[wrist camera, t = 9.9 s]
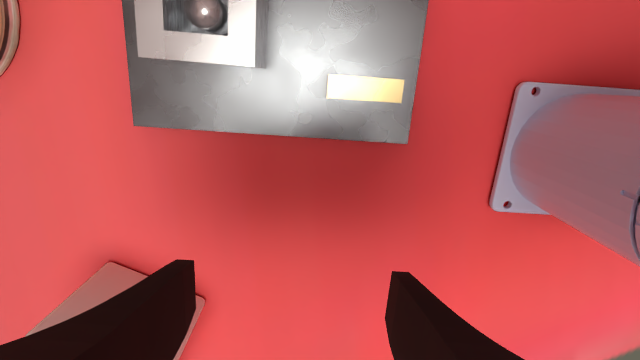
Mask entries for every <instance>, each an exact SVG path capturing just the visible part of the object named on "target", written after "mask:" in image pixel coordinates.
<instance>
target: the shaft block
mask: <svg viewBox="0 0 640 360" xmlns="http://www.w3.org/2000/svg"><path fill="white" fill-rule="evenodd" d="M428 1H429V0H268V16H267V46H266V69H263V68H252V67H240V66H228V65H217V64H205V63H194V62H182V61H171V60H162V59H153V58H144V57H138V48H137V34H136V21H135V7H134V0H122V7H123V18H124V28H125V39H126V50H127V60H128V71H129V81H130V92H131V102H132V113H133V124H134V126H144V127H159V128H174V129H189V130H204V131H219V132H234V133H249V134H264V135H279V136H294V137H309V138H324V139H339V140H354V141H369V142H384V143H399V144H407V143H408V137H409V130H410V123H411V116H412V109H413V103H414V96H415V89H416V82H417V76H418V69H419V62H420V55H421V49H422V42H423V35H424V28H425V21H426V15H427V8H428ZM184 11H185V14H186V17H187V19H188V20H189V21H190V22H191V23H192V33H200V34H211V35H222V36H228V0H185V3H184Z"/></svg>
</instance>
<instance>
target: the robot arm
mask: <svg viewBox="0 0 640 360" xmlns="http://www.w3.org/2000/svg"><path fill="white" fill-rule="evenodd" d="M534 87H535V88H536V93H535V94H534V95H532V94H531V91H532V89H533V88H534ZM506 201H508V204H507V205H506V206H504V207H503V205H504V203H505V202H506ZM489 205H490V207H491V208H492V209H493V210H495V211H498V212H514V213H530V214H547V215H553V216H554V217H556V218H558V219H560V220H561V221H563V222H565V223H566V224H568V225H570V226H571V227H573V228H575V229H577V230H578V231H580V232H582V233H583V234H585V235H587V236H588V237H590V238H592V239H594V240H595V241H597V242H599V243H600V244H602V245H604V246H606V247H607V248H609V249H611V250H612V251H614V252H616V253H617V254H619V255H621V256H623V257H624V258H626V259H628V260H629V261H631V262H633V263H634V264H636V265H638V266H640V90H635V89H622V88H608V87H594V86H581V85H567V84H553V83H540V82H522V83H520V84H519V85H518V86H517V88H516V90H515V94H514V99H513V103H512V107H511V111H510V116H509V120H508V124H507V129H506V133H505V137H504V142H503V146H502V150H501V154H500V159H499V163H498V167H497V172H496V176H495V180H494V184H493V189H492V193H491V197H490V202H489ZM195 310H196V293H195V272H194V260H178V259H177V260H175V261H173V262H171V263H169V264H168V265H166V266H164V267H163V268H161V269H159V270H158V271H156V272H155V273H153V274H151V275H150V276H148V277H146V278H145V279H143V280H142V281H140V282H138V283H137V284H135V285H133V286H132V287H130V288H128V289H126V290H125V291H123V292H121V293H119V294H117V295H116V296H114V297H112V298H110V299H108V300H107V301H105V302H103V303H101V304H99V305H97V306H95V307H93V308H91V309H89V310H87V311H85V312H83V313H81V314H79V315H77V316H74V317H72V318H70V319H68V320H66V321H63V322H61V323H59V324H56V325H53V326H51V327H48V328H46V329H43V330H41V331H38V332H36V333H33V334H31V335H28V336H26V337H23V338H20V339H17V340H15V341H12V342H9V343H6V344H3V345H0V360H173V359H174V357H175V356H176V354H177V352H178V350H179V348H180V346H181V344H182V342H183V340H184V338H185V336H186V334H187V332H188V329H189V327H190V324H191V322H192V319H193V316H194V313H195ZM385 321H386V327H387V333H388V338H389V344H390V347H391V351H392V354H393V357H394V360H524V359H523V358H521V357H519V356H517V355H516V354H514V353H512V352H510V351H509V350H507V349H505V348H504V347H502V346H501V345H499V344H497V343H496V342H494V341H493V340H491V339H490V338H488V337H487V336H485V335H484V334H482V333H481V332H479V331H478V330H477V329H475V328H474V327H473V326H471V325H470V324H469V323H467V322H466V321H465V320H463V319H462V318H461V317H460V316H458V315H457V314H456V313H454V312H453V311H452V310H451V309H450V308H448V307H447V306H446V305H445V304H444V303H443V302H441V301H440V300H439V299H438V298H437V297H436V296H435V295H434V294H432V293H431V292H430V291H429V290H428V289H427V288H426V287H425V286H424V285H423V284H421V283H420V282H419V281H418V280H417V279H416V278H415V277H414V276H412V275H411V274H410V273H409V272H395V271H392V275H391V282H390V288H389V295H388V301H387V308H386V315H385Z"/></svg>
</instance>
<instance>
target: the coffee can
mask: <svg viewBox="0 0 640 360" xmlns="http://www.w3.org/2000/svg"><path fill="white" fill-rule="evenodd" d="M19 28H20V14H19V7H18V2H17V0H0V76H1V75H2V74H3V72H4V71H5V70H6V68H7V67H8V66H9V64H10V62H11V60H12V58H13V56H14V54H15V51H16V48H17V46H18V41H19Z"/></svg>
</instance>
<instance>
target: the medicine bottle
mask: <svg viewBox="0 0 640 360" xmlns="http://www.w3.org/2000/svg"><path fill="white" fill-rule="evenodd" d="M146 277H148V276H146V275H144V274H141V273H139V272H136V271H133V270H131V269H128V268H126V267H123V266H121V265H118V264H116V263H113V262H109V263H106V264H105V265H104V266H103V267H102V268H101V269H99V270H98V271H97V272H96V273H95V274H94V275H93V276H92V277H90V278H89V279H88V280H87V281H86V282H85V283H84V284H83V285H81V286H80V287H79V288H78V289H77V290H76V291H75V292H73V293H72V294H71V295H70V296H69V297H68V298H67V299H66V300H64V301H63V302H62V303H61V304H60V305H59V306H58V307H57V308H55V309H54V310H53V311H52V312H51V313H50V314H49V315H48V316H46V317H45V318H44V319H43V320H42V321H41V322H40V323H39V324H37V325H36V326H35V327H34V328H33V329H32V330H31V331H30V332H28V333H27V335H26V336H28V335H31V334H33V333H36V332H38V331H41V330H43V329H46V328H48V327H51V326H53V325H56V324H59V323H61V322H63V321H66V320H68V319H70V318H72V317H74V316H77V315H79V314H81V313H83V312H85V311H87V310H89V309H91V308H93V307H95V306H97V305H99V304H101V303H103V302H105V301H107V300H108V299H110V298H112V297H114V296H116V295H117V294H119V293H121V292H123V291H125V290H126V289H128V288H130V287H132V286H133V285H135V284H137V283H138V282H140V281H142V280H143V279H145V278H146ZM204 304H205V300H204V298H202V297H200V296H197V295H196V310H195V313H194V316H193V319H192V322H191V324H190V327H189V329H188V332H187V334H186V336H185V338H184V340H183V342H182V344H181V346H180V348H179V350H178V352H177V354H176V356H175V357H174V359H173V360H179V358H180V356H181V354H182V352H183V350H184V348H185V345H186V343H187V341H188V339H189V337H190V335H191V333H192V330H193V328H194V326H195V324H196V322H197V320H198V317H199V315H200V313H201V311H202V309H203V307H204ZM26 336H25V337H26Z"/></svg>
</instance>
